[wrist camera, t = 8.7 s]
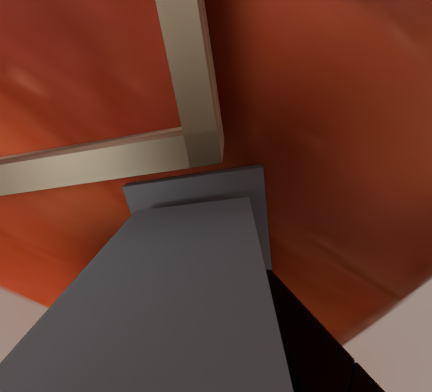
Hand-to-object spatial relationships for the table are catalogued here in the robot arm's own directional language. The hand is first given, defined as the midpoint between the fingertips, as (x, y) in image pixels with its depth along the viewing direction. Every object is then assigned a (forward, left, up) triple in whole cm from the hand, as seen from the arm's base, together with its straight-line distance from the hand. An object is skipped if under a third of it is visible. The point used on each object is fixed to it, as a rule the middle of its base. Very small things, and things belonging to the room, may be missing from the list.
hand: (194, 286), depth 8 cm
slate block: (0, 0, -2) cm, 2 cm away
